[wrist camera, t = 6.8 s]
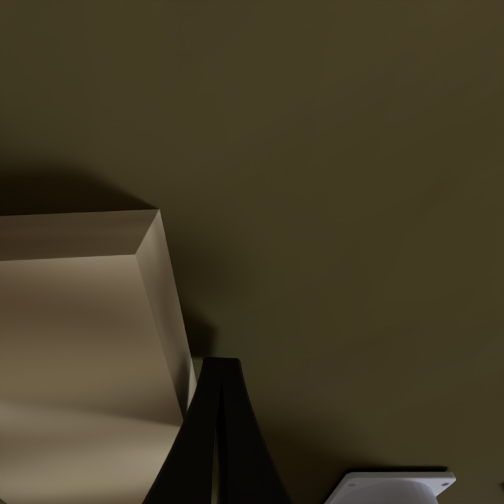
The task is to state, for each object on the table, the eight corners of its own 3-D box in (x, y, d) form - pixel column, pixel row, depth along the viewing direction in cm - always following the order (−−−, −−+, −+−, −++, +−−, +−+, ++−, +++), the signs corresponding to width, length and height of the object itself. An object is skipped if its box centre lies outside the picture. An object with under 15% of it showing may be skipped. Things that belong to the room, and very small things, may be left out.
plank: (212, 445, 17) (209, 509, 15) (63, 457, 17) (33, 523, 15) (163, 202, 9) (135, 254, 6) (-139, 215, 9) (-295, 276, 6)
